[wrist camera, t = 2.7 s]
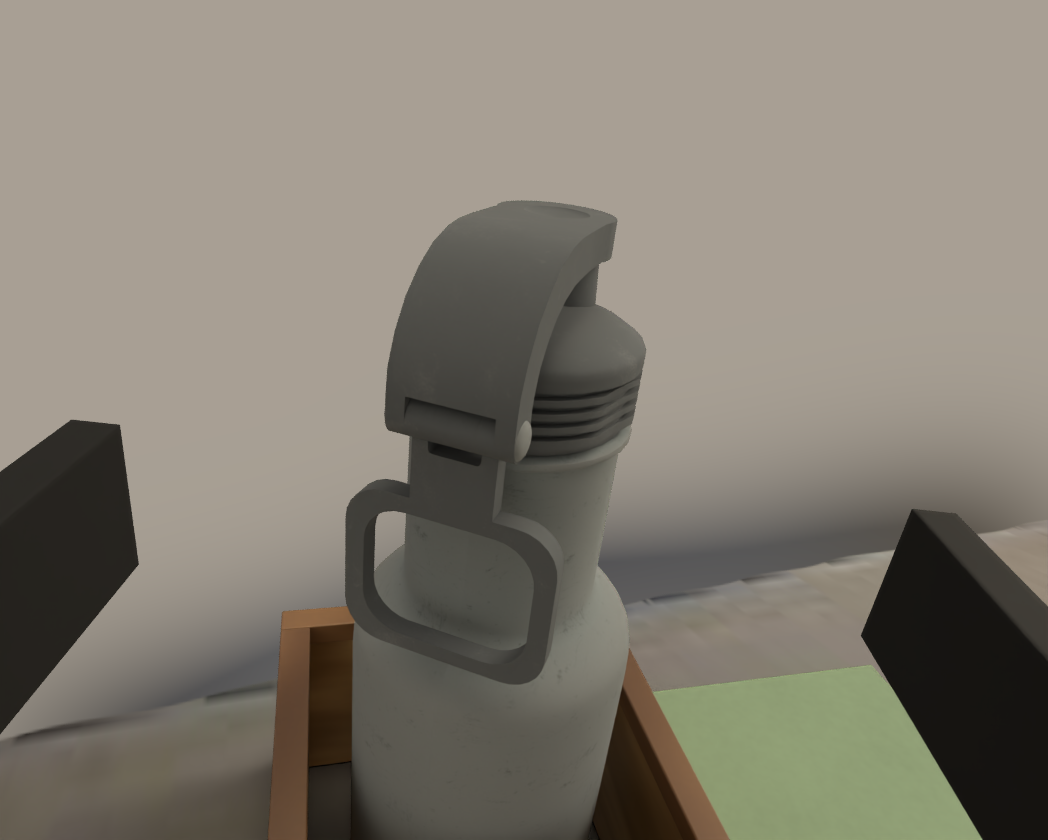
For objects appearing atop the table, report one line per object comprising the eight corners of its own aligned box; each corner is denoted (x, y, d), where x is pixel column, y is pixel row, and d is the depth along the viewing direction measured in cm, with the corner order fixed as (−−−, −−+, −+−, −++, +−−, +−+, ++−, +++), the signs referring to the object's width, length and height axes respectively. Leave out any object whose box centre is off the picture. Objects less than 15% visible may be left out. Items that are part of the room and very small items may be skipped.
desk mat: (868, 671, 46) (871, 664, 46) (1106, 938, 32) (1112, 930, 32) (603, 704, 41) (605, 697, 41) (749, 1036, 27) (753, 1028, 27)
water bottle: (530, 1058, 26) (692, 294, 14) (296, 942, 28) (264, 213, 16) (599, 816, 35) (734, 224, 23) (416, 745, 37) (452, 178, 25)
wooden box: (572, 716, 40) (597, 585, 36) (695, 1034, 27) (754, 883, 23) (287, 753, 36) (281, 610, 32) (271, 1148, 23) (258, 988, 19)
